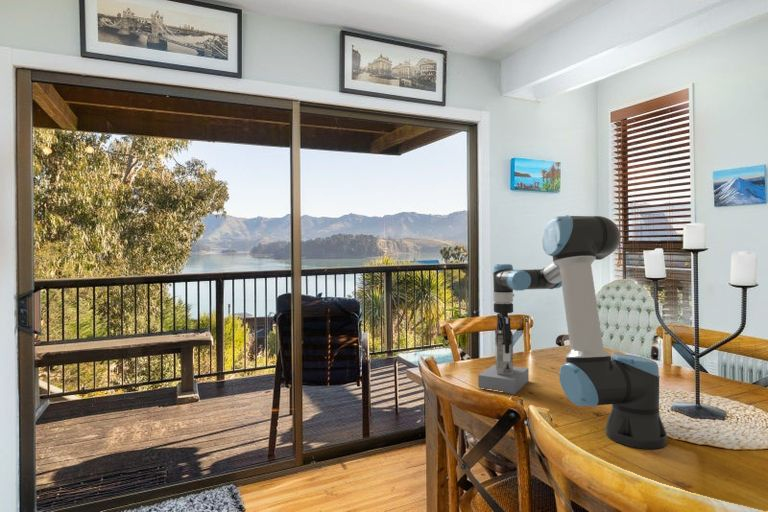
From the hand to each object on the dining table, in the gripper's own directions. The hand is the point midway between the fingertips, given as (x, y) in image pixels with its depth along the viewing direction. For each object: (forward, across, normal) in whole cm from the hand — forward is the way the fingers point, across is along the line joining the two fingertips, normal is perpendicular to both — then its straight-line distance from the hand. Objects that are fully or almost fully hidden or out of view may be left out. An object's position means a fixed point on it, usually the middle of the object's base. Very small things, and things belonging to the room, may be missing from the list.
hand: (503, 357), depth 179 cm
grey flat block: (+11, 0, 0) cm, 11 cm away
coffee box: (+6, 0, 0) cm, 6 cm away
